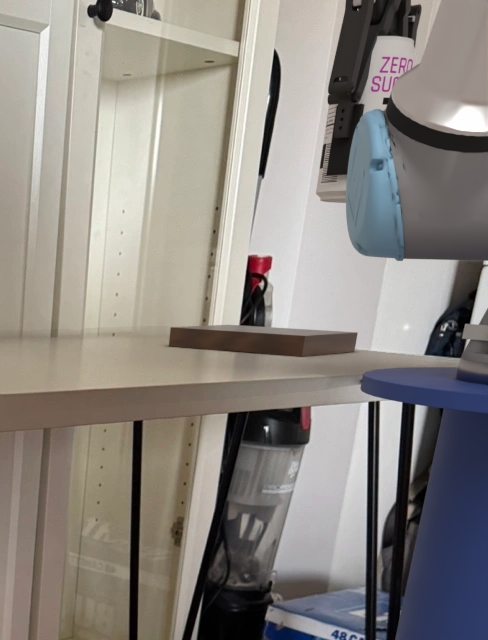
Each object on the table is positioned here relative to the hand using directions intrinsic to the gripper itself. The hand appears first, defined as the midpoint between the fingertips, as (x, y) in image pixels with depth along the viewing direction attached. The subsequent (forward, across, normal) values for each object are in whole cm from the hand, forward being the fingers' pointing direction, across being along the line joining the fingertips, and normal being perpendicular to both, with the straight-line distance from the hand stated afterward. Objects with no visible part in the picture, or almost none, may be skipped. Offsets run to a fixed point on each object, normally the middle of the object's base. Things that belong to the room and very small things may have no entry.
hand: (357, 177), depth 114 cm
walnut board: (+19, -16, -17) cm, 31 cm away
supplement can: (+2, 0, 0) cm, 2 cm away
